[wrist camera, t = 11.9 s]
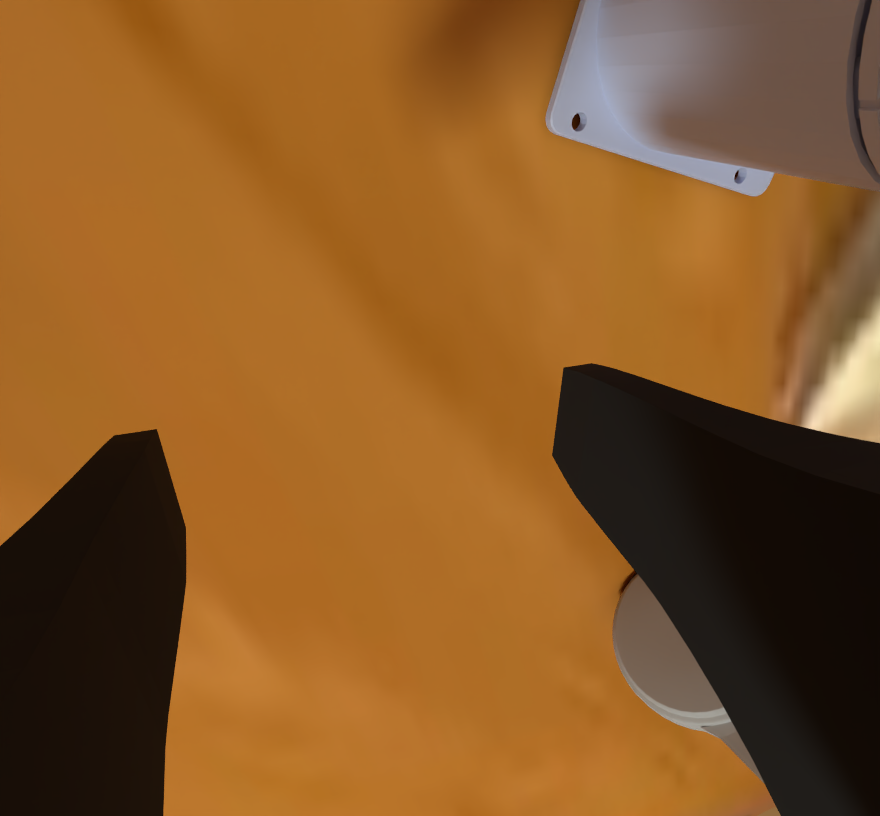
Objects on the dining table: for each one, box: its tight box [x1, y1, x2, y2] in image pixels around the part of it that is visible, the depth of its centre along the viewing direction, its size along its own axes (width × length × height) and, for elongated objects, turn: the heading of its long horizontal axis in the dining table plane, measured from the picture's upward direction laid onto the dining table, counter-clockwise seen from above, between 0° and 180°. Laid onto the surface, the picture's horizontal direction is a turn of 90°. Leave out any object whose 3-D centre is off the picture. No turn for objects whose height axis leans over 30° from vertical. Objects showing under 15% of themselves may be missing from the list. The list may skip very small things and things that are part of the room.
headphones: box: [613, 574, 765, 784], centre depth 29 cm, size 20×8×19 cm, turn 43°
